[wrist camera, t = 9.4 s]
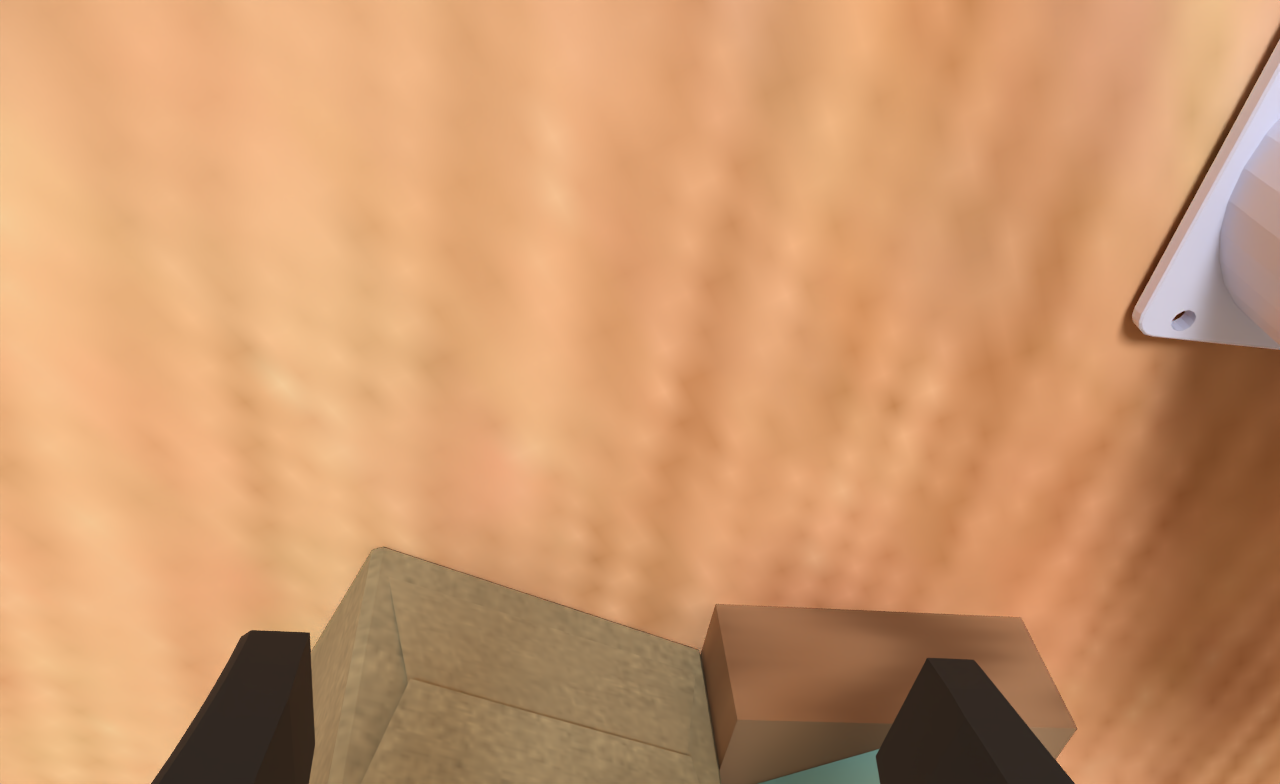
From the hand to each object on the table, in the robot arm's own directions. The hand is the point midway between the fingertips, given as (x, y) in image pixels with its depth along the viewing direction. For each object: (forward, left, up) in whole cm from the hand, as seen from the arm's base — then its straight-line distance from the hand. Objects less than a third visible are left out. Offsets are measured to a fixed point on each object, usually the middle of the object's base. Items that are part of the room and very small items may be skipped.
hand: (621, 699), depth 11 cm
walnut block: (-9, +14, -11) cm, 20 cm away
